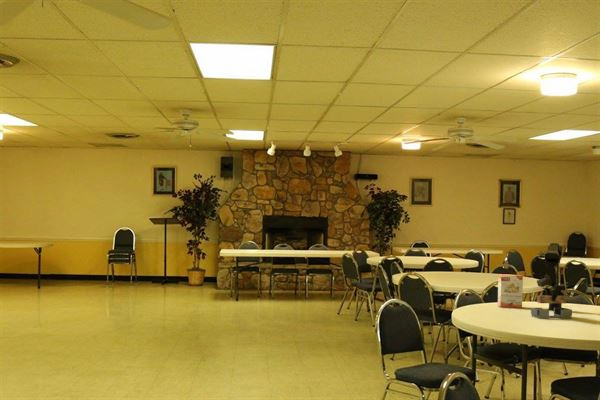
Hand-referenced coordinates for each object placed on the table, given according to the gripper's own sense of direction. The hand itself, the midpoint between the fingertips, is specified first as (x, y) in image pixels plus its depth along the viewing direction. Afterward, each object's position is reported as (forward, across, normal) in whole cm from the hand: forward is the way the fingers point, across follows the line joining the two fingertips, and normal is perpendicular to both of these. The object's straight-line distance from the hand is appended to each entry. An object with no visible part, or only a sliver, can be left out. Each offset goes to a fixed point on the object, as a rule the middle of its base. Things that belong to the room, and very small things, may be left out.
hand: (551, 300), depth 324 cm
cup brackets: (+10, 0, 0) cm, 10 cm away
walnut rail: (+1, 0, 0) cm, 1 cm away
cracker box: (+10, -36, -6) cm, 38 cm away
